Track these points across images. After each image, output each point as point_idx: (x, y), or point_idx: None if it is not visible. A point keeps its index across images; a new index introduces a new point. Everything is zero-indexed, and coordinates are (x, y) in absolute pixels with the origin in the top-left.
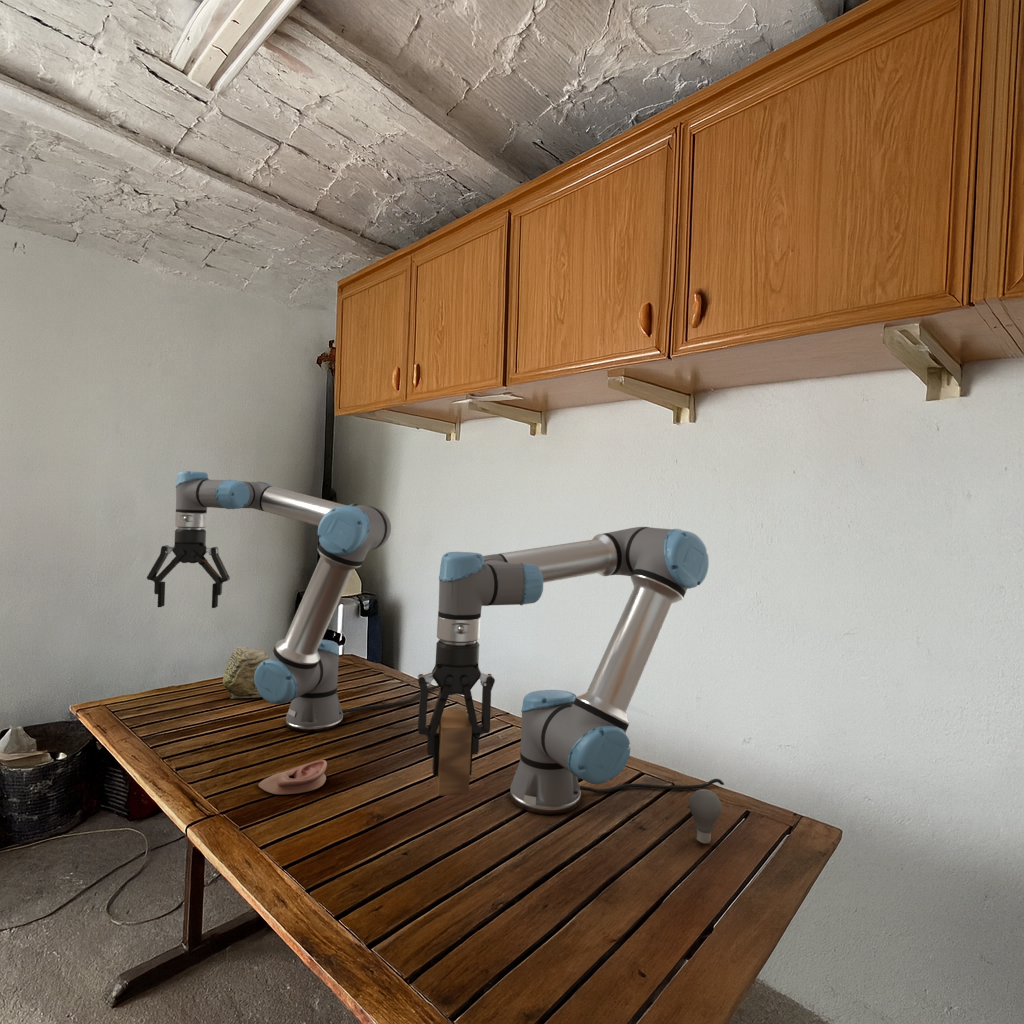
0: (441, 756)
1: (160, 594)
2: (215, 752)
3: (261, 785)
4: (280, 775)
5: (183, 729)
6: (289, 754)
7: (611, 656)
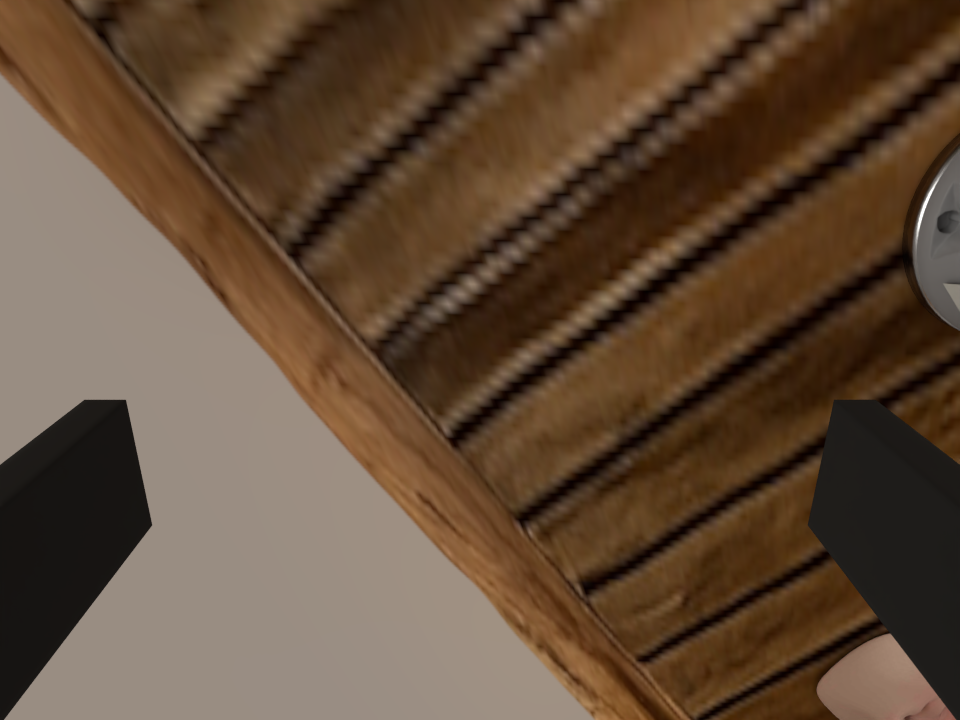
0: None
1: (38, 658)
2: (668, 487)
3: (826, 703)
4: None
5: (500, 276)
6: None
7: None
